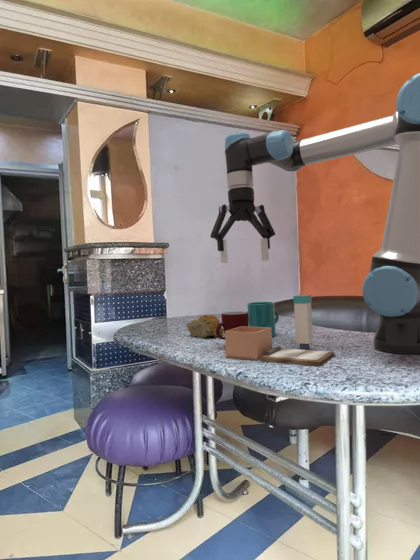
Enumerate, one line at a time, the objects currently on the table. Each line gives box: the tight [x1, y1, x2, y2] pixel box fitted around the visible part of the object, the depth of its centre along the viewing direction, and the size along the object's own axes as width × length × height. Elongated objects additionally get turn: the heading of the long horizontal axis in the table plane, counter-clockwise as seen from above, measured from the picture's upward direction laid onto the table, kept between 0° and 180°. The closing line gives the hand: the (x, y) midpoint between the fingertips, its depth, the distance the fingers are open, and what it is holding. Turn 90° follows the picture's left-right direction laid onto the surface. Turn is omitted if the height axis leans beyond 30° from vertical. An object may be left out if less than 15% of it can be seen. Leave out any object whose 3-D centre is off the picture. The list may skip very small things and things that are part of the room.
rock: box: [186, 314, 224, 339], centre depth 143 cm, size 12×9×10 cm
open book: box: [259, 345, 335, 367], centre depth 103 cm, size 15×12×2 cm
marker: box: [293, 294, 314, 350], centre depth 113 cm, size 4×4×15 cm
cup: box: [246, 301, 280, 338], centre depth 139 cm, size 9×12×11 cm
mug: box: [216, 310, 249, 341], centre depth 122 cm, size 11×8×10 cm
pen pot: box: [224, 326, 273, 361], centre depth 109 cm, size 9×9×7 cm
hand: (245, 261), depth 119 cm, fingers open, 13 cm apart
